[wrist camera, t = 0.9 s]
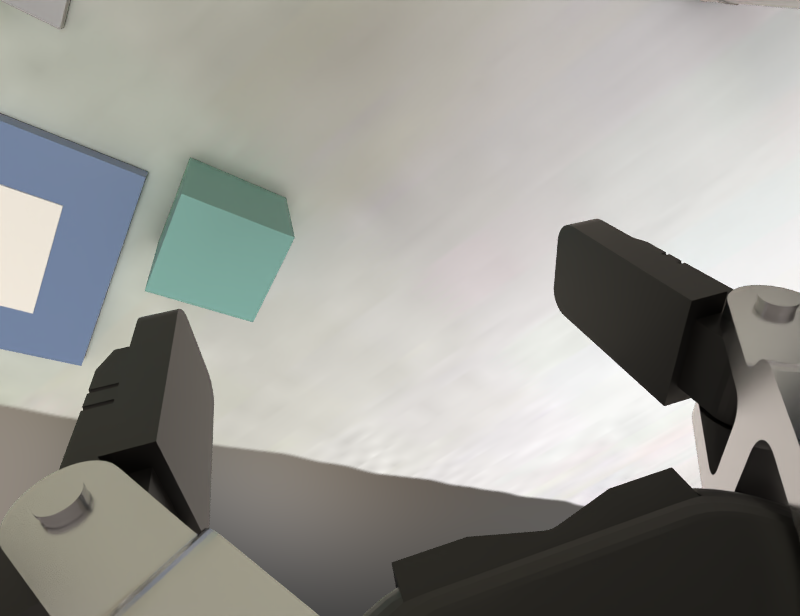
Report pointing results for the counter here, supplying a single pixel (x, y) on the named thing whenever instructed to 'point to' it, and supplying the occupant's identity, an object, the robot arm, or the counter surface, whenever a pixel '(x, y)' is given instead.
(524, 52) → the counter surface
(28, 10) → the stacked block model
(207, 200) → the teal cube
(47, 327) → the board
